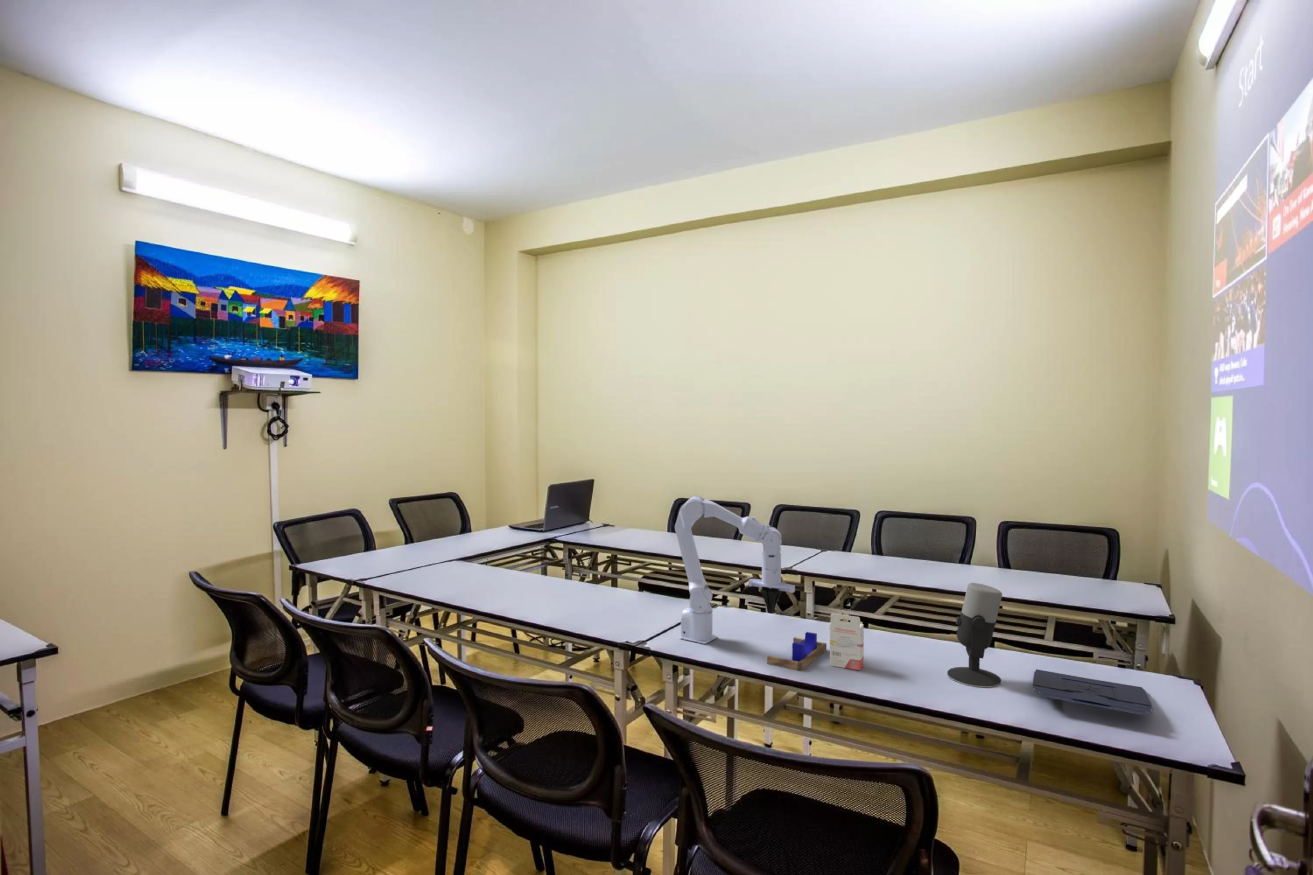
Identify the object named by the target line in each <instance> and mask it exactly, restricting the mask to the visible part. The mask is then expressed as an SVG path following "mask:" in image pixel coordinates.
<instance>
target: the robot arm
mask: <svg viewBox="0 0 1313 875" xmlns="http://www.w3.org/2000/svg"><path fill="white" fill-rule="evenodd" d="M703 515H704V516H703ZM702 516H703V518H713V517H715V518H717V519H719V520H721V521H723V522H725V523H728V524H730V525H732V526H733V527H736V528H738V532H739V534H741V535H744V536H745V537H747V538H749V539H751V540H753V541H755V542H757V543H761V544H762V553H761V578H760V579H758V578H757V579H756V578H750V579H748V587H757V588H761V590H760V594H761V596H762V598H763V600H764V603H765V607H766V611H767V614H772V615H773V614H774V613H775V610H776V606H777V602H778V600H779V598H780V596H781V595H782V593H783V592H788V593H790V594H793V593H795V592H796V585H793V584H789V583H786V582H783V581H781V580H782V553H781V551H782V548H781V545H782V542H783V541H782V533H781V532H780V531H779V530H778V529H777V528H776V527H773V526H770V524H765V523H763V522H760V521H758V520H756V519H757V518H756V517H755V516H753V515H752V516H751V517H750V516H745V517H742V516H739V515H738V514H736V513H735V512H732V511H730V510H728V509H727V508H725V507H723V506H721V505H720V504H718V503H716V502H715V501H712V500H710V499H707V498H703V497H702V496H698V495H694V496H691V497H690V498H689V499H688V500H687V501H686V502H684V503H683V505H681V507H680V508H679V512H678V515H677V519H676V522H675V524H674V531H675V535H676V538H677V542H678V545H679V546H678V547H679V550H680V554H681V558H682V561H683V565H684V569H685V573H686V574H685V575H686V577H687V580H688V592H689V595H690V596H689V601H688V603H689V607H685V608H684V609H683V610H682V612H681V616H680V636H679V639H681V640H685V641H690V642H694V643H699V644H705V645H706V644H709V643H710V642H712V641H714V640H715V639H717V638H718V636H719V635H715V634H713V607H712V606H711V601H712V599H713V592H712V590H711V589H710V587H709V586H708V584H707V580H706V579H705V577H704V574H703V573H704V572H703V571H702V566H701V562H700V558H699V555H698V551H697V546H696V542H695V539H694V536H693V531H692V528H693V525H694V524H695V523H696V522H697V521H698V520H699V519H700V518H701V517H702Z"/></svg>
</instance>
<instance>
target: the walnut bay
mask: <svg viewBox="0 0 1313 875" xmlns="http://www.w3.org/2000/svg"><path fill="white" fill-rule="evenodd" d="M792 641H793V642H798V643H800V642H801V641H805V638H803V637H795V636H794V637H793V638H792ZM793 642H792V643H793ZM826 651H827V643H826V642H821V641H817V648H816V649H815V650H813V651H812V652H811V653H810V654H808V655H807V656H806V657H805V658H803V659H802V660H801V661H799V662H797V661H793V660H792V659H788V658H784V657H778V656H773V655H767V656H766V657H767V658H766V659H767V660H766V661H767V662H766V663H767V664H768V665H771V666H772V665H773V666H775V667H776V666H777V667H781V668H786V669H790V670H795V671H799V672H801V671H803V670H804V669H805V668H807V667H808V666H809V665H810V664H811V663H812V662H814V661H815V660H816V659H818V657H820V656H821V655H822V654H823V653H824V652H826Z"/></svg>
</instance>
